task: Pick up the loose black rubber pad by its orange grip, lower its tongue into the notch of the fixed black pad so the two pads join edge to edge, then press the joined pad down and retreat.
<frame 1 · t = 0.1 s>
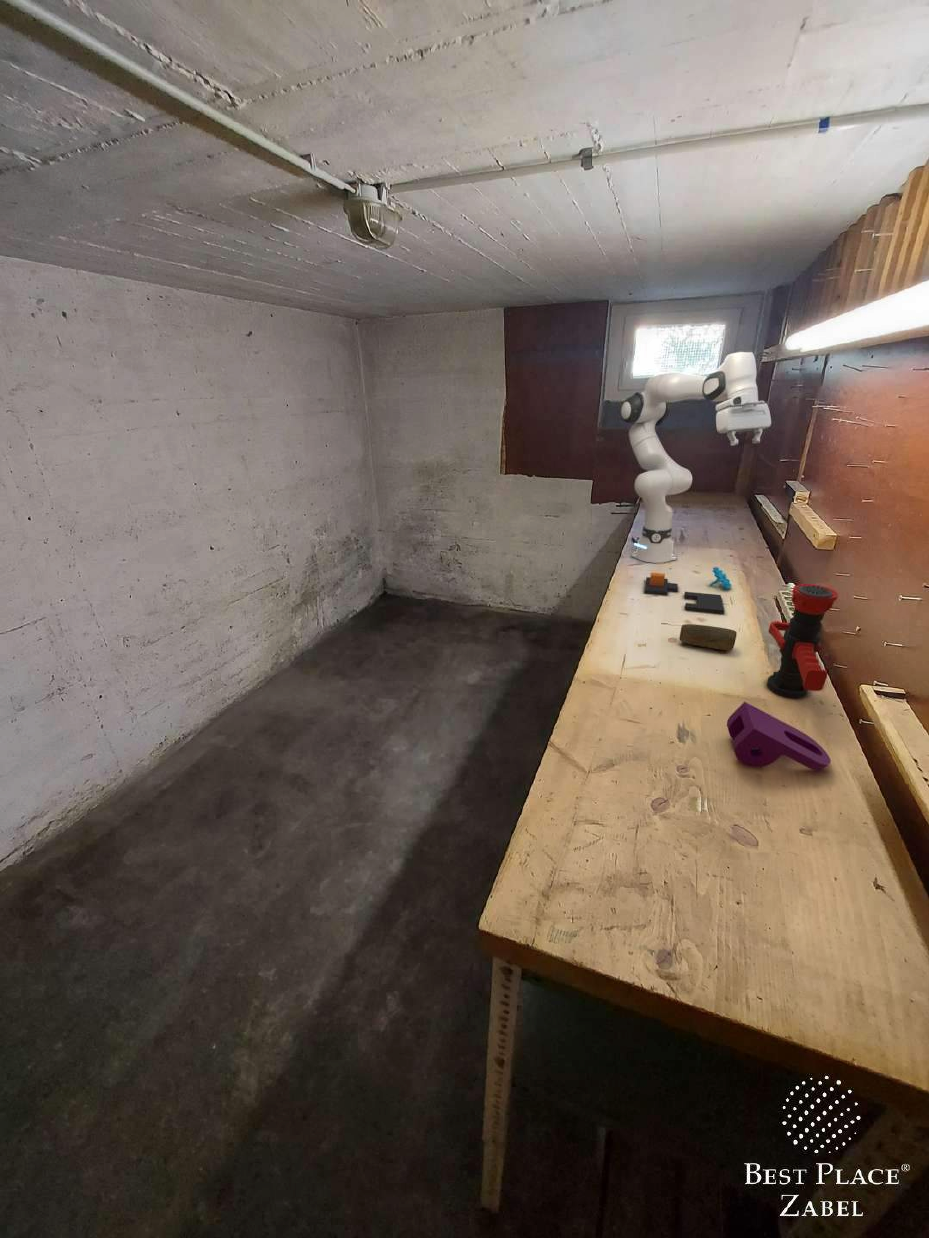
hand: (745, 444, 163), 52 cm above the table, tool tilted 20°, fingers open, 8 cm apart
fire hose nozzle: (787, 692, 123), on the table
mounting bracket: (775, 756, 103), on the table
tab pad: (656, 587, 187), on the table
gear: (720, 587, 185), on the table
socket pad: (703, 604, 172), on the table
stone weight: (705, 646, 146), on the table
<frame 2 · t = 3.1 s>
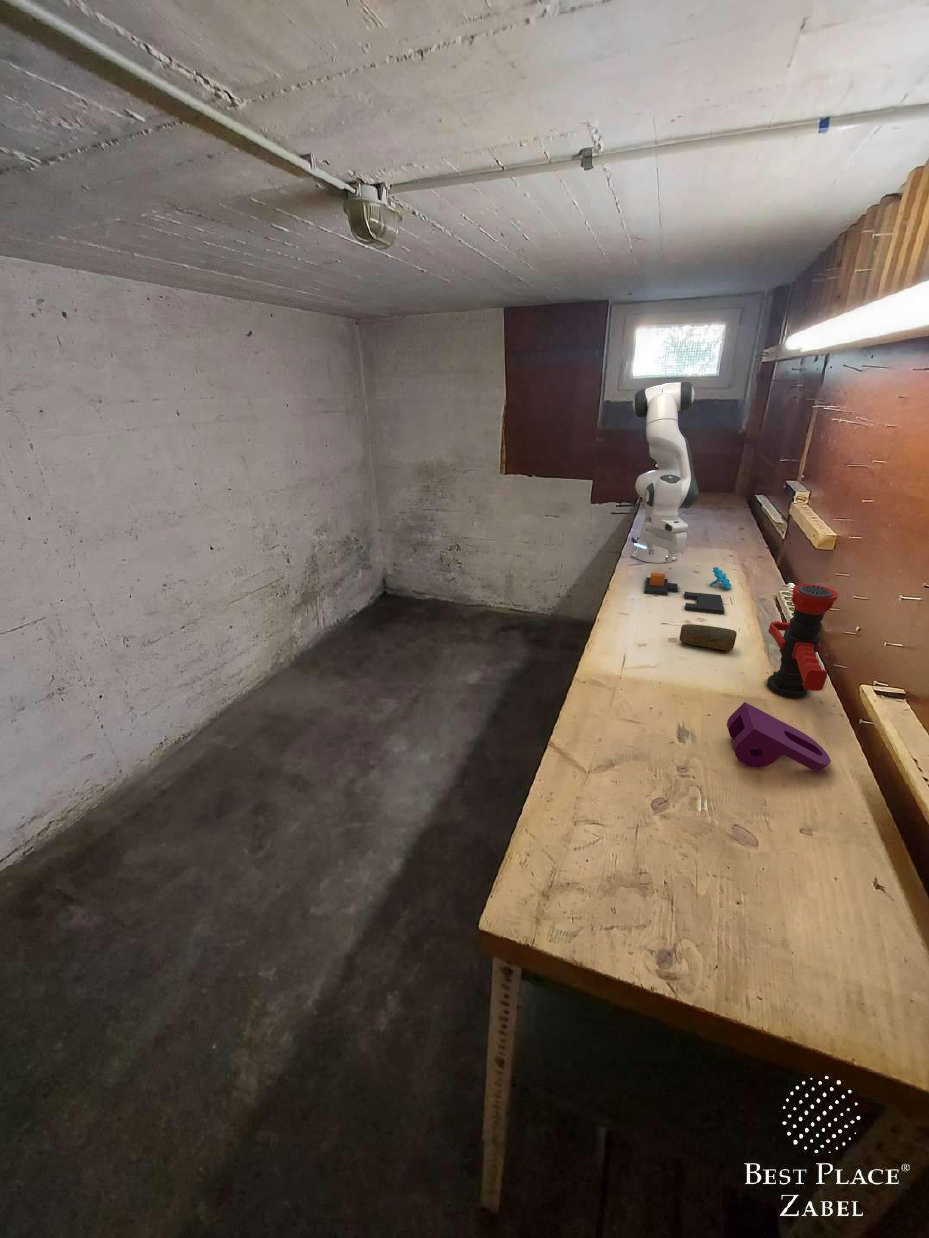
hand: (659, 557, 182), 12 cm above the table, tool pointing down, fingers open, 8 cm apart
nothing on the table moved.
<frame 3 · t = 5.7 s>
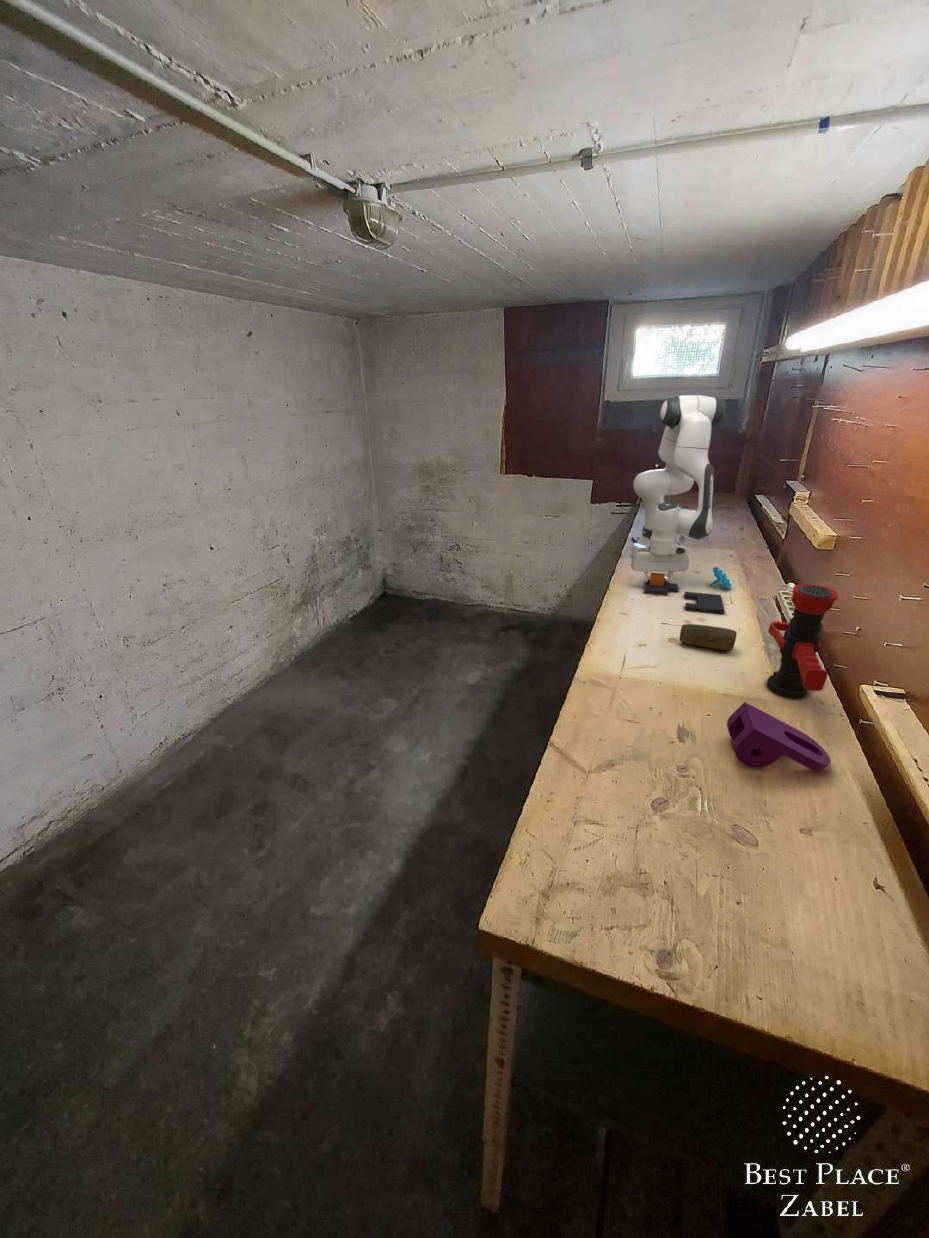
hand: (657, 581, 186), 3 cm above the table, tool pointing down, fingers closed on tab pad, 5 cm apart
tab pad: (656, 587, 187), on the table, touching gripper
everything else where it was.
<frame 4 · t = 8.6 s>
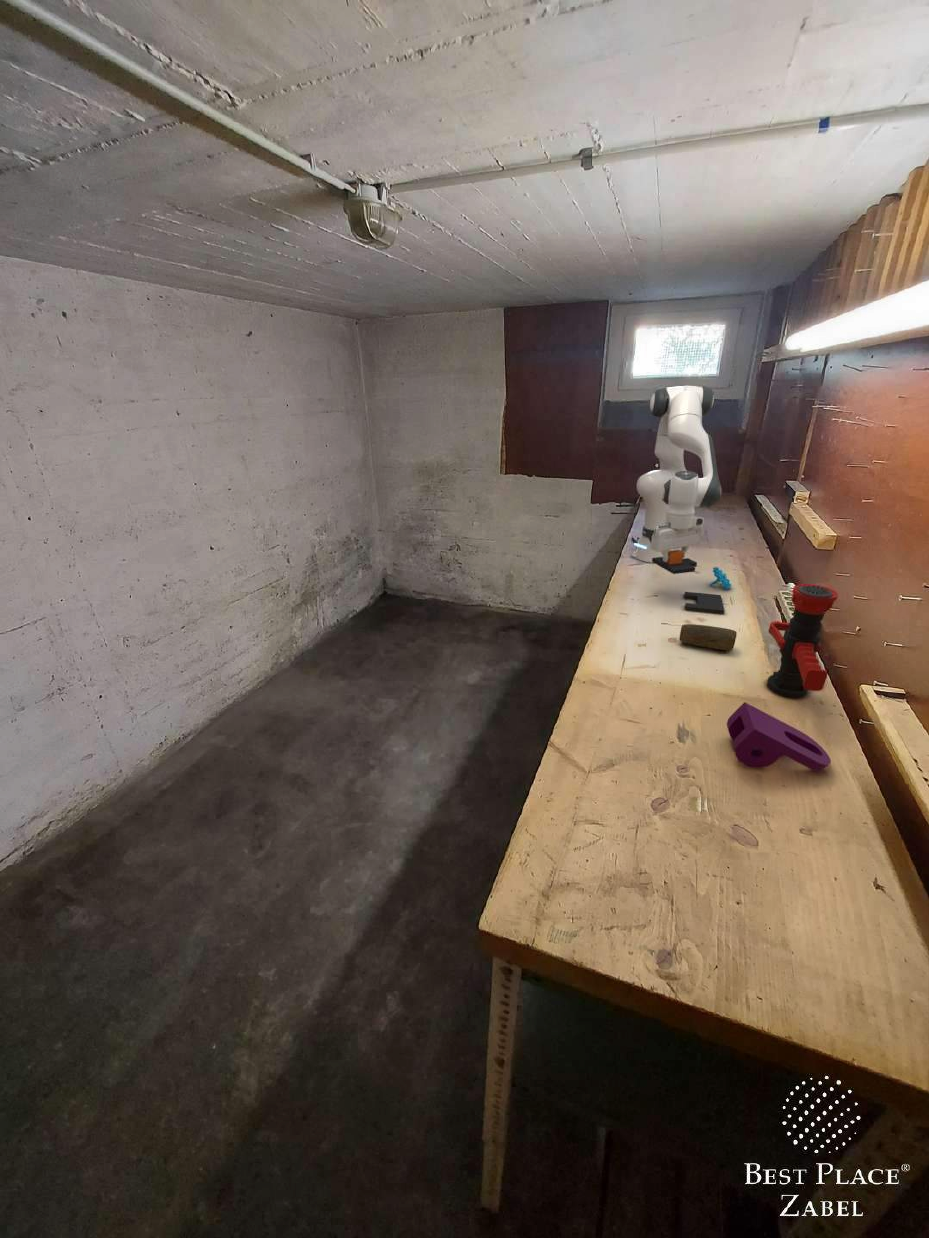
hand: (673, 559, 171), 15 cm above the table, tool pointing down, fingers closed on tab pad, 5 cm apart
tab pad: (672, 566, 172), point 13 cm above the table, touching gripper
everything else where it was.
when the fingers open (3 cm above the table, at t = 11.7 s): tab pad stays where it is, resting on socket pad.
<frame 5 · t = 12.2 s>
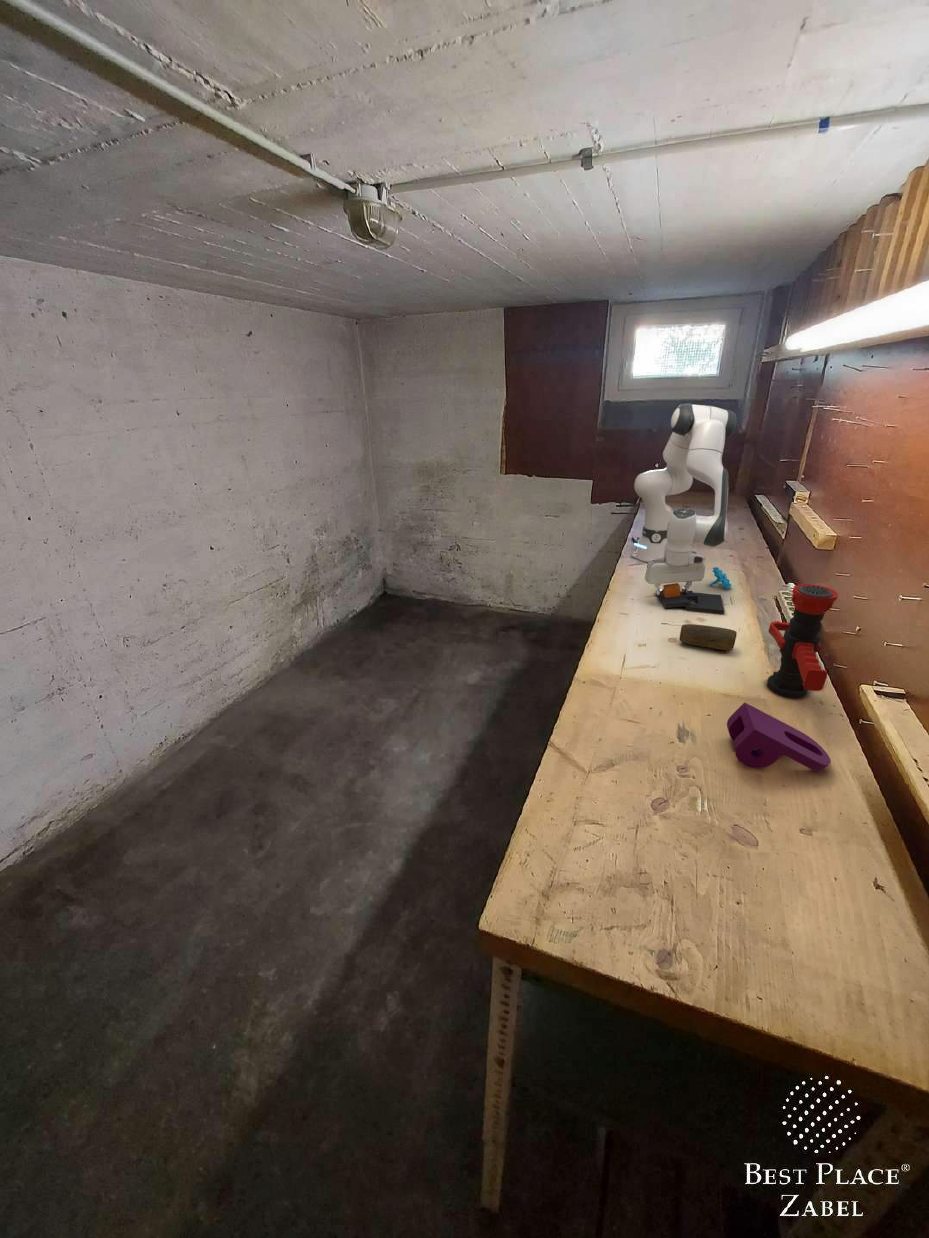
hand: (671, 593, 174), 3 cm above the table, tool pointing down, fingers open, 8 cm apart
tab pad: (671, 599, 175), point 1 cm above the table, tilted 9°, touching gripper, socket pad
everything else where it was.
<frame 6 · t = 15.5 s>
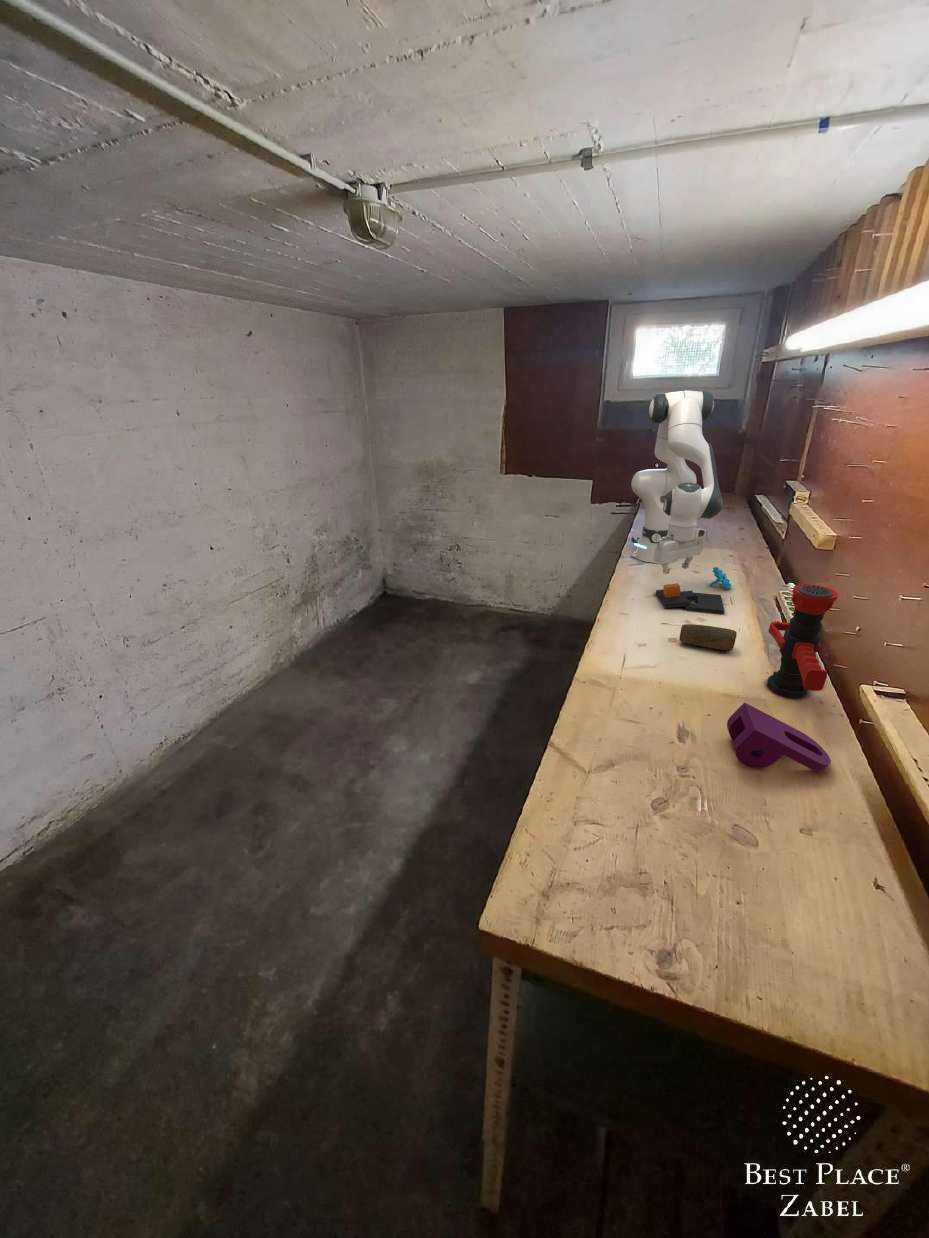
hand: (675, 570, 170), 12 cm above the table, tool pointing down, fingers open, 8 cm apart
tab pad: (671, 599, 175), point 1 cm above the table, tilted 9°, touching socket pad
everything else where it was.
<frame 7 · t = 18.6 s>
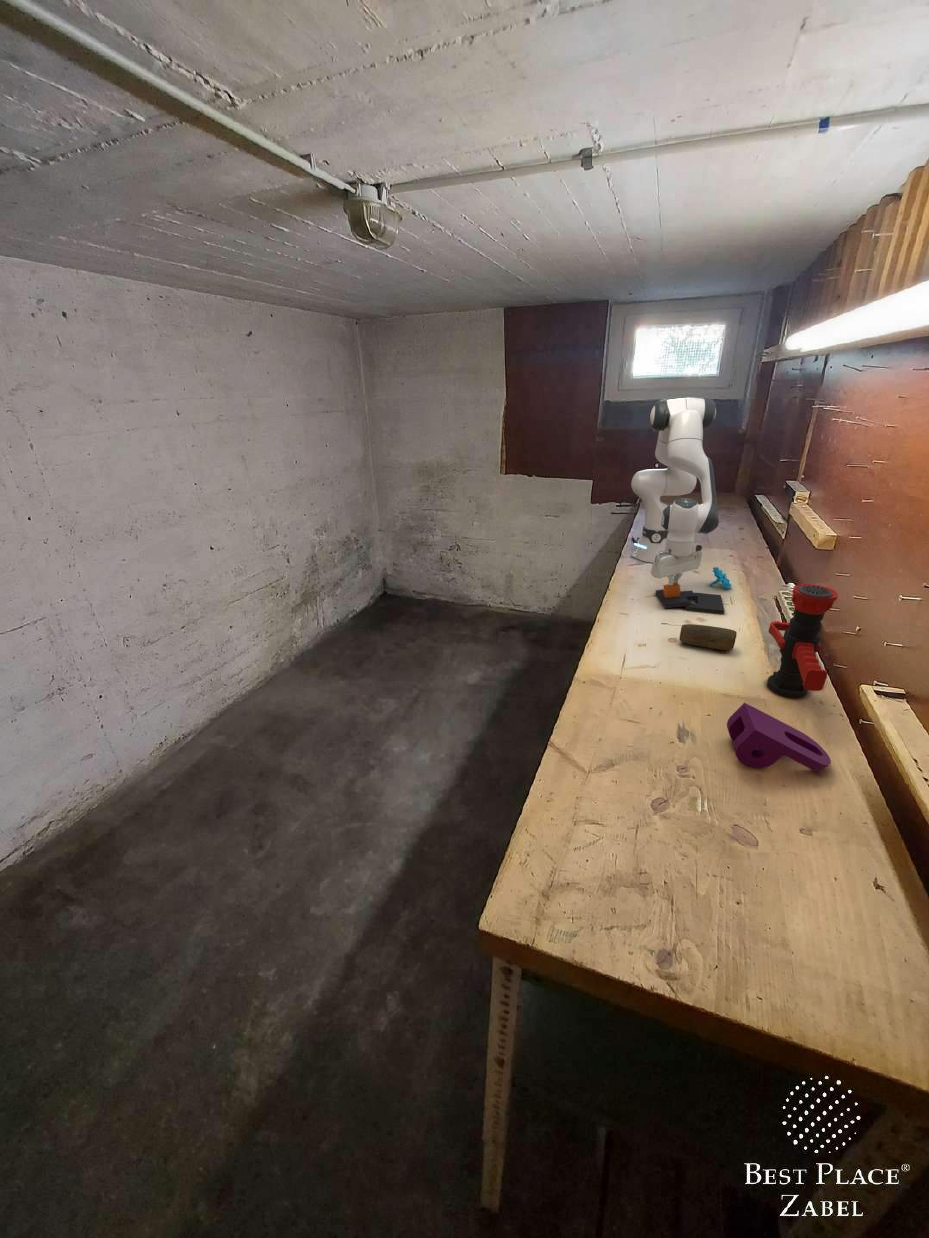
hand: (673, 584, 173), 7 cm above the table, tool pointing down, fingers closed
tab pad: (671, 599, 175), point 1 cm above the table, tilted 9°, touching gripper, socket pad
everything else where it was.
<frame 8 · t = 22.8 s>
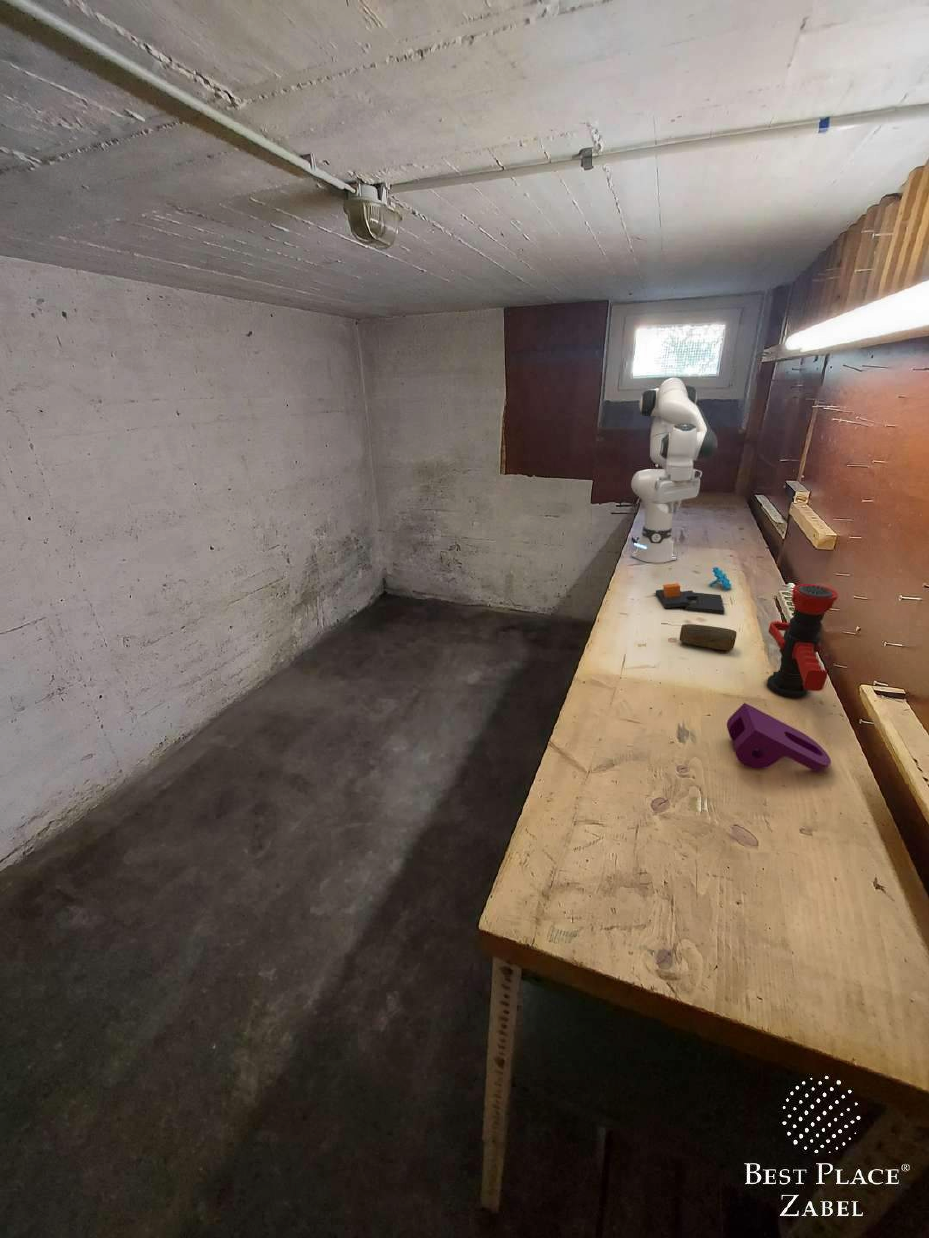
hand: (672, 513, 175), 29 cm above the table, tool pointing down, fingers closed
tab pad: (671, 599, 175), point 1 cm above the table, tilted 9°, touching socket pad
everything else where it was.
at the end: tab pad 0.5 cm from the target spot on the table beside the socket pad, point 0.8 cm above the table; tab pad tilted 9°; the gripper is holding nothing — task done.
